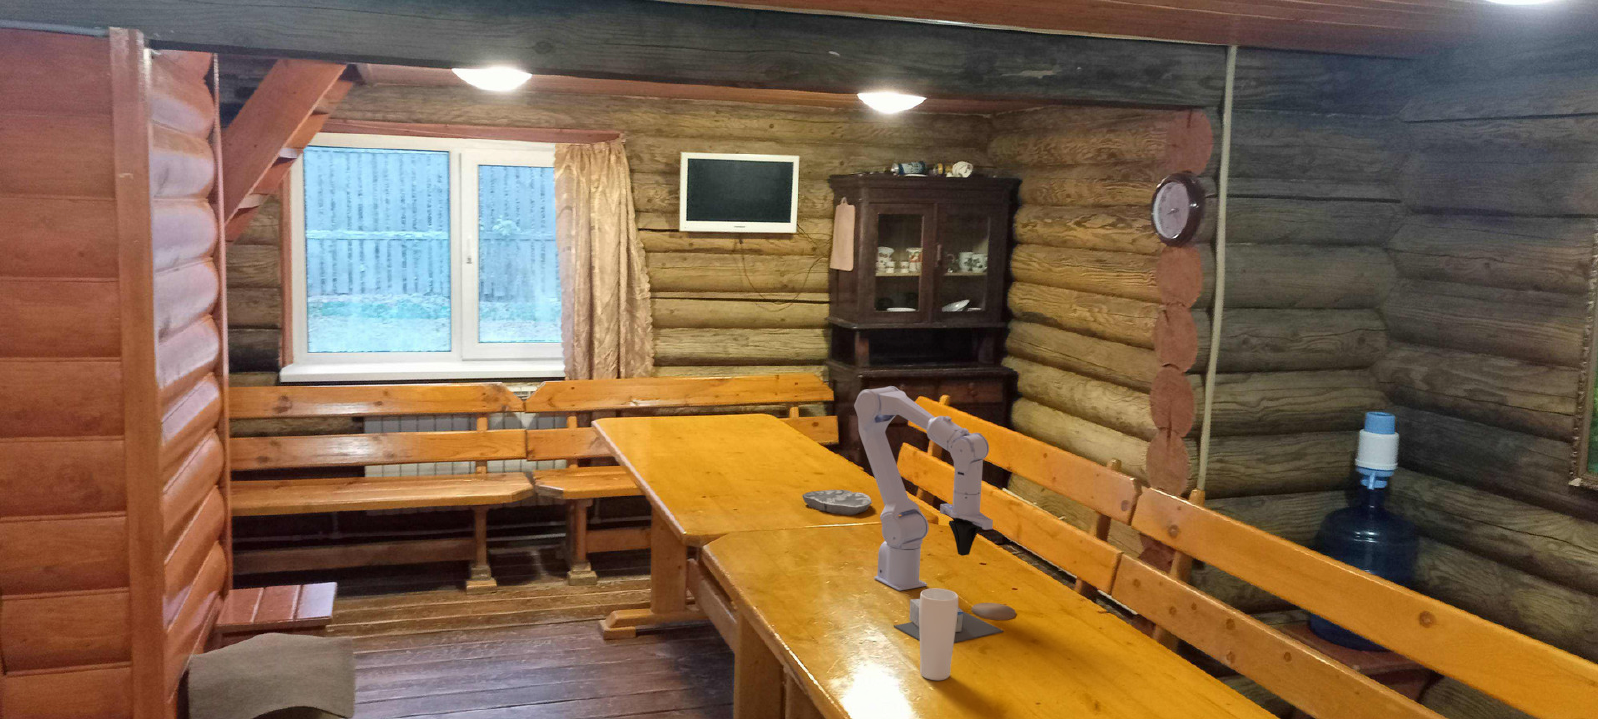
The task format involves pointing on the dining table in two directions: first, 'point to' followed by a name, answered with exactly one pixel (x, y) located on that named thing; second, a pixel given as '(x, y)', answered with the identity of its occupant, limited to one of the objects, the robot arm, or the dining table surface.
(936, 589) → the drinking glass
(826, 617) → the dining table surface
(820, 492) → the brain slice
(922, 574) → the dining table surface
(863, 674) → the dining table surface
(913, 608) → the medicine box
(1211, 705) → the dining table surface
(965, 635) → the mat
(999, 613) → the walnut coaster
